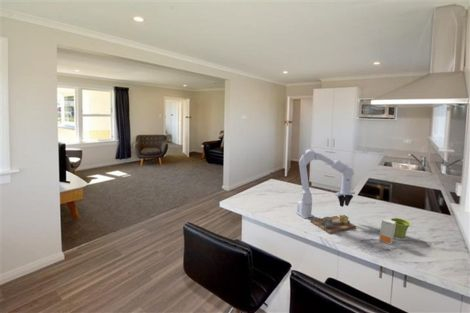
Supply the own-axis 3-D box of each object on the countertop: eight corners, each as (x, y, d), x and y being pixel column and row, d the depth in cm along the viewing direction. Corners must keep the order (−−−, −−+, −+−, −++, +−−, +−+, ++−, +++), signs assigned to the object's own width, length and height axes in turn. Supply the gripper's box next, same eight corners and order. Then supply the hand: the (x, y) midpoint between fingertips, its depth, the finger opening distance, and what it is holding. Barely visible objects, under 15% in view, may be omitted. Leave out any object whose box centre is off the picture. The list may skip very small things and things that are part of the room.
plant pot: (407, 234, 149) (409, 220, 148) (408, 241, 141) (410, 226, 140) (388, 230, 154) (390, 216, 152) (388, 236, 146) (390, 222, 144)
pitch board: (310, 222, 162) (311, 212, 161) (336, 217, 170) (337, 207, 169) (329, 233, 148) (330, 222, 146) (356, 227, 156) (357, 217, 155)
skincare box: (378, 240, 141) (381, 220, 139) (381, 238, 144) (383, 217, 142) (391, 244, 137) (394, 223, 135) (393, 242, 140) (396, 221, 138)
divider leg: (337, 221, 161) (338, 214, 160) (341, 220, 162) (341, 213, 161) (344, 224, 156) (344, 217, 155) (347, 224, 157) (348, 217, 156)
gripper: (342, 188, 157) (340, 209, 159) (359, 186, 162) (357, 206, 165) (333, 185, 163) (331, 205, 165) (350, 183, 169) (348, 202, 171)
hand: (344, 205), depth 166 cm, fingers open, 4 cm apart
